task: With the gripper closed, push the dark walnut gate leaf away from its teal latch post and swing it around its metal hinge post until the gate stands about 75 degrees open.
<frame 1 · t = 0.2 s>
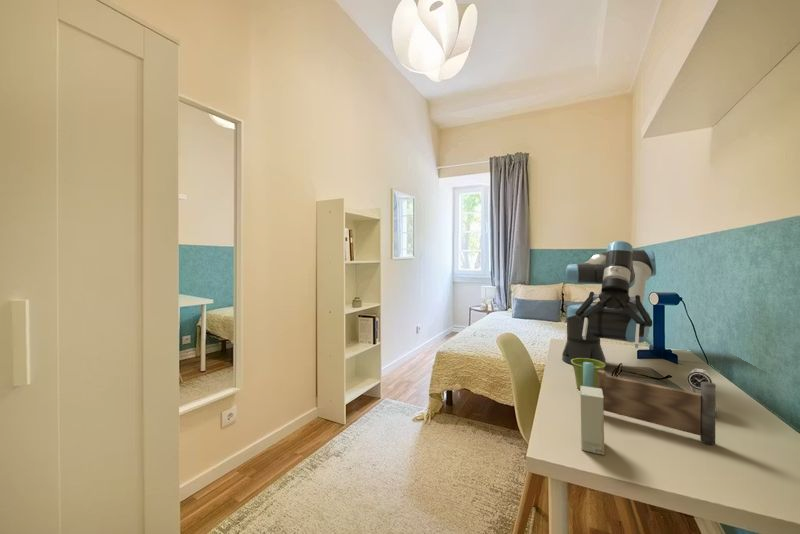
hand: (609, 341, 98), 16 cm above the table, tool tilted 35°, fingers open, 13 cm apart
gate: (651, 400, 78), point 7 cm above the table, hinge at 0.0°
latch post: (588, 410, 87), on the table
plant pot: (587, 390, 102), on the table
skincare box: (591, 446, 71), on the table
watch: (700, 410, 87), on the table
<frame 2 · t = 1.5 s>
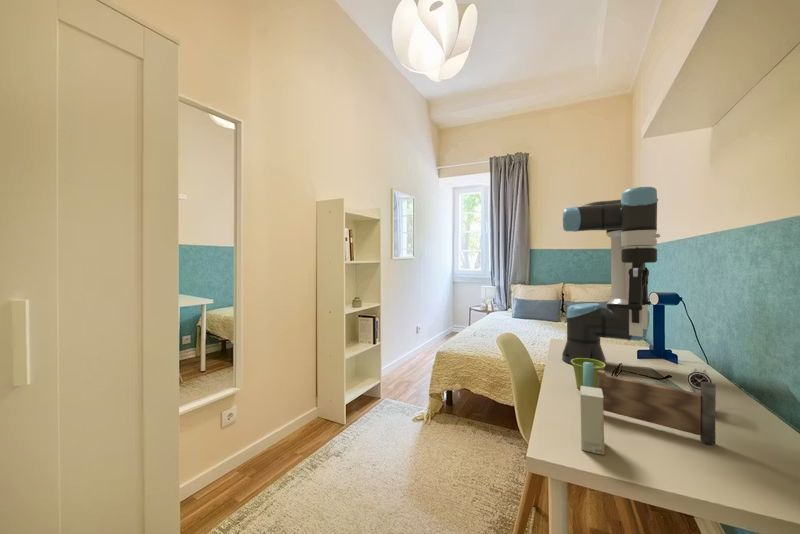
hand: (638, 331, 85), 22 cm above the table, tool pointing down, fingers open, 10 cm apart
nothing on the table moved.
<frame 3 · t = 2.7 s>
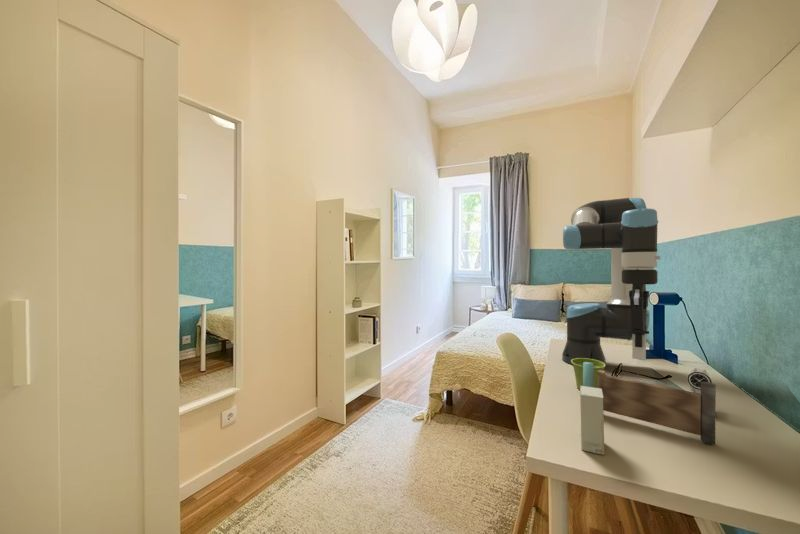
hand: (639, 358, 84), 15 cm above the table, tool pointing down, fingers closed
nothing on the table moved.
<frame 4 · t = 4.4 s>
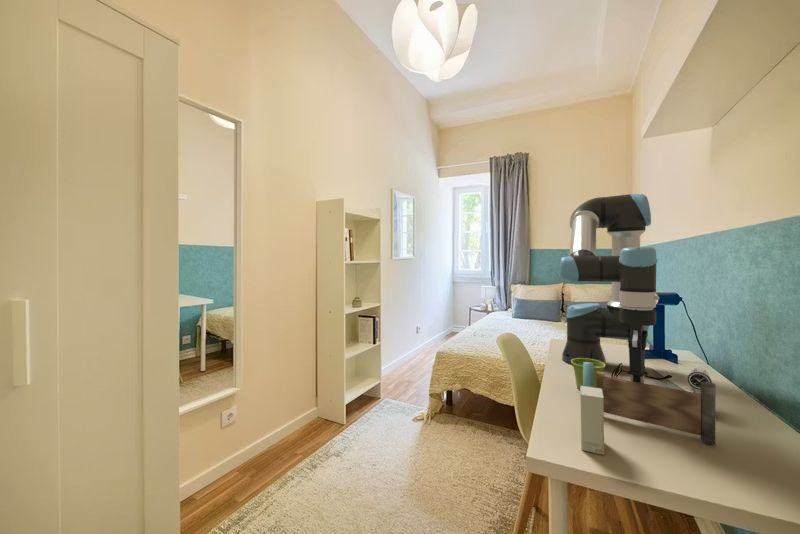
hand: (637, 399, 82), 5 cm above the table, tool pointing down, fingers closed
gate: (650, 400, 78), point 7 cm above the table, hinge at 3.6°, touching gripper
everything else where it was.
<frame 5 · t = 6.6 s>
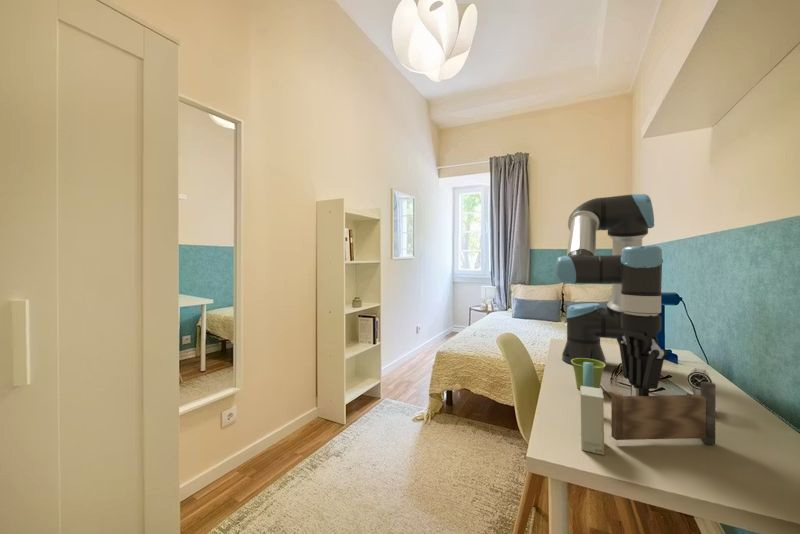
hand: (639, 414, 75), 5 cm above the table, tool pointing down, fingers closed
gate: (663, 413, 71), point 7 cm above the table, hinge at 43.3°, touching gripper
everything else where it was.
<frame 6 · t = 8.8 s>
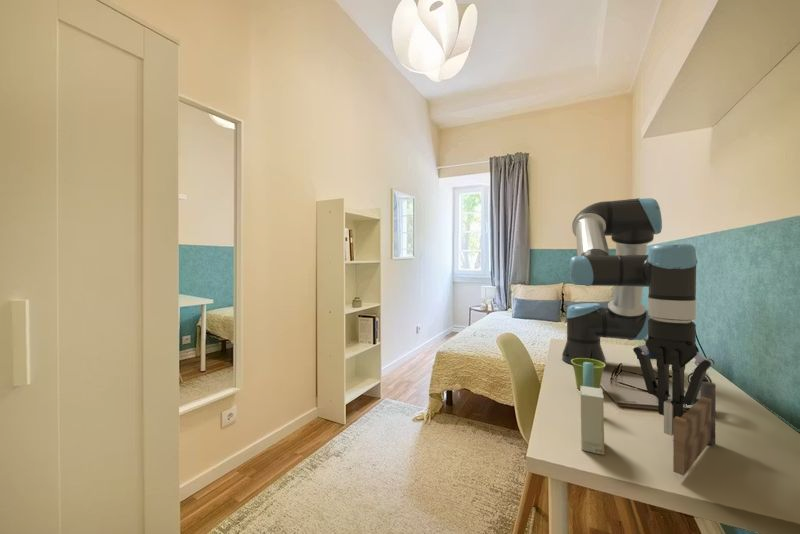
hand: (670, 432, 67), 5 cm above the table, tool pointing down, fingers closed
gate: (695, 426, 66), point 7 cm above the table, hinge at 78.0°, touching gripper
everything else where it was.
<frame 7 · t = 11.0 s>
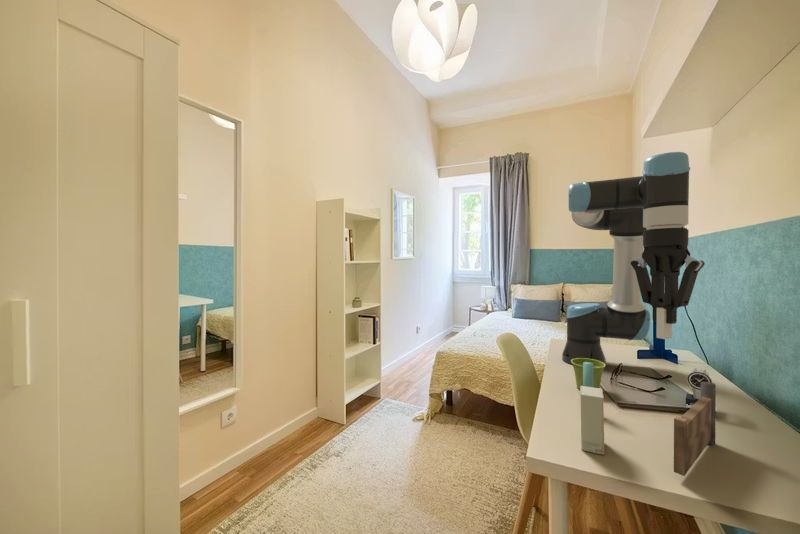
hand: (664, 337, 69), 24 cm above the table, tool pointing down, fingers closed
gate: (695, 426, 66), point 7 cm above the table, hinge at 78.1°
everything else where it was.
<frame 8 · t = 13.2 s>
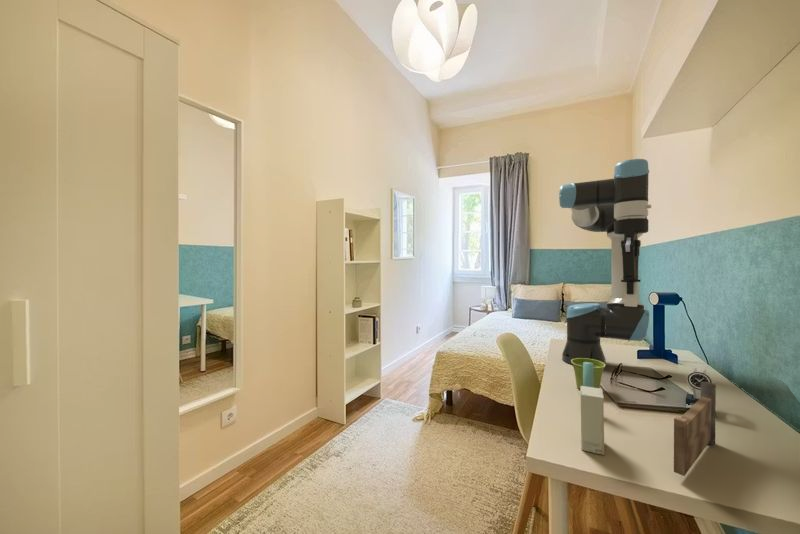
hand: (630, 306, 87), 28 cm above the table, tool pointing down, fingers closed
nothing on the table moved.
at the end: gate at +78° (first picture: +0°); skincare box moved 0.2 cm from its start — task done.
